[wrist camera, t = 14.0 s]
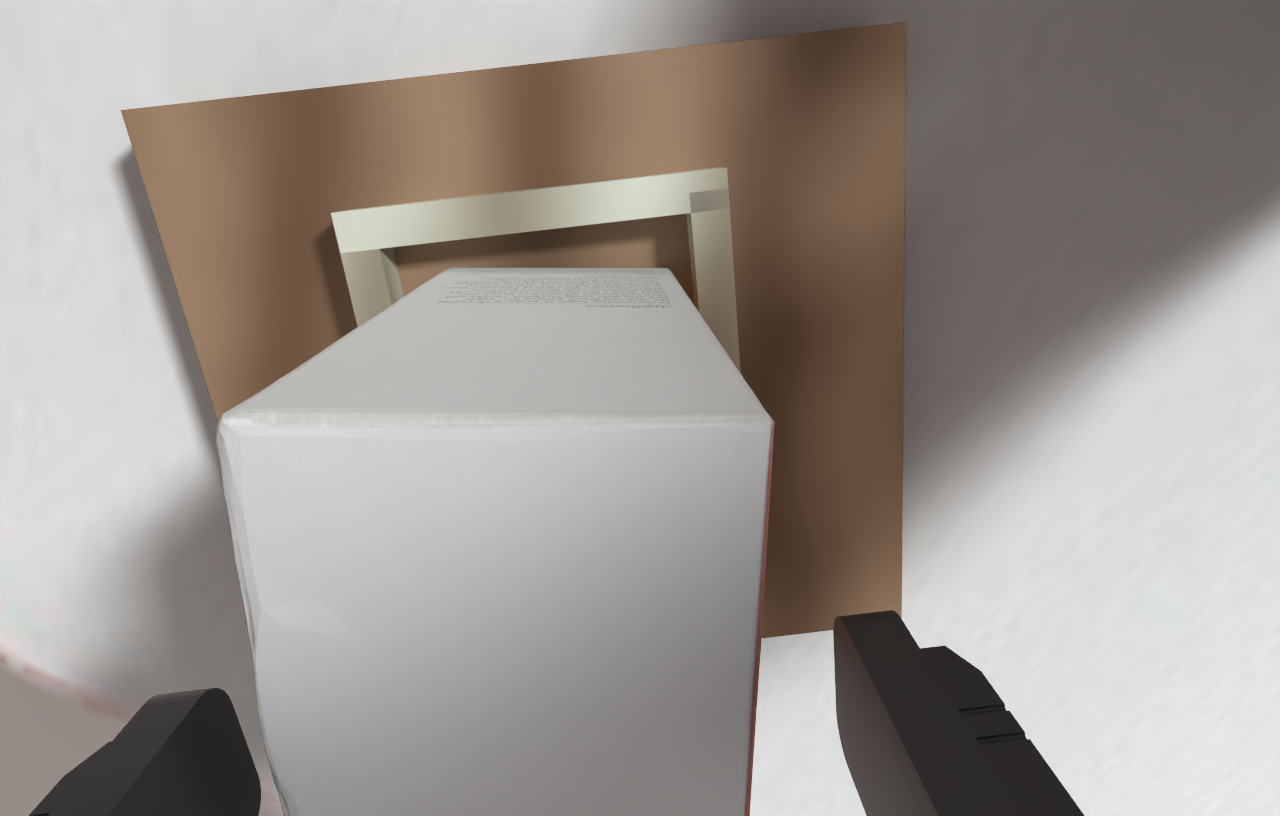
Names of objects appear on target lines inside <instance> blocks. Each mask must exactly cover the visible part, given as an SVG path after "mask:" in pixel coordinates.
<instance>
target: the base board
mask: <svg viewBox="0 0 1280 816" xmlns="http://www.w3.org/2000/svg"><path fill="white" fill-rule="evenodd" d="M905 110H906V22H902V23H893V24H884V25H875V26H866V27H857V28H848V29H839V30H830V31H822V32H813V33H804V34H795V35H786V36H777V37H768V38H759V39H750V40H742V41H733V42H724V43H715V44H706V45H697V46H688V47H679V48H670V49H662V50H653V51H644V52H635V53H626V54H617V55H608V56H599V57H590V58H582V59H573V60H564V61H555V62H546V63H537V64H528V65H519V66H511V67H502V68H493V69H484V70H475V71H466V72H457V73H448V74H439V75H431V76H422V77H413V78H404V79H395V80H386V81H377V82H368V83H359V84H351V85H342V86H333V87H324V88H315V89H306V90H297V91H288V92H279V93H271V94H262V95H253V96H244V97H235V98H226V99H217V100H208V101H199V102H191V103H182V104H173V105H164V106H155V107H146V108H137V109H128V110H121V112H122V115H123V119H124V122H125V125H126V128H127V131H128V135H129V138H130V141H131V144H132V147H133V151H134V154H135V157H136V160H137V164H138V167H139V170H140V173H141V176H142V180H143V183H144V186H145V189H146V192H147V196H148V199H149V202H150V205H151V208H152V212H153V215H154V218H155V221H156V225H157V228H158V231H159V234H160V237H161V241H162V244H163V247H164V250H165V253H166V257H167V260H168V263H169V266H170V269H171V273H172V276H173V279H174V282H175V285H176V289H177V292H178V295H179V298H180V302H181V305H182V308H183V311H184V314H185V318H186V321H187V324H188V327H189V330H190V334H191V337H192V340H193V343H194V346H195V350H196V353H197V356H198V359H199V363H200V366H201V369H202V372H203V375H204V379H205V382H206V385H207V388H208V391H209V395H210V398H211V401H212V404H213V407H214V411H215V414H216V417H217V420H218V422H219V420H220V418H221V416H222V414H224V413H225V412H227V411H229V410H230V409H232V408H234V407H235V406H237V405H239V404H240V403H242V402H244V401H245V400H247V399H249V398H250V397H252V396H254V395H255V394H257V393H258V392H260V391H262V390H263V389H265V388H266V387H268V386H270V385H271V384H273V383H274V382H275V381H276V380H278V379H280V378H281V377H283V376H285V375H287V374H288V373H290V372H291V371H293V370H294V369H296V368H297V367H299V366H300V365H302V364H303V363H305V362H306V361H308V360H309V359H311V358H312V357H314V356H315V355H317V354H318V353H320V352H321V351H323V350H324V349H326V348H327V347H329V346H330V345H332V344H333V343H335V342H336V341H338V340H339V339H341V338H342V337H344V336H345V335H347V334H348V333H350V332H351V331H353V330H354V329H356V328H357V327H359V326H361V325H362V324H364V323H365V322H366V321H368V320H370V319H372V318H373V317H375V316H376V315H378V314H379V313H381V312H383V311H384V310H386V309H387V308H388V307H390V306H391V305H392V304H394V303H395V302H397V301H398V300H399V299H401V298H402V297H404V296H406V295H407V294H409V293H410V292H412V291H413V290H414V289H416V288H418V287H419V286H421V285H422V284H424V283H426V282H427V281H429V280H430V279H432V278H433V277H435V276H436V275H438V274H440V273H441V272H443V271H445V270H446V269H449V268H668V269H669V270H670V271H671V272H672V273H673V275H674V277H675V278H676V279H677V281H678V283H679V284H680V285H681V287H682V288H683V290H684V291H685V293H686V294H687V296H688V297H689V299H690V300H691V301H692V303H693V305H694V306H695V307H696V309H697V310H698V312H699V313H700V315H701V316H702V318H703V320H704V321H705V322H706V324H707V325H708V326H709V328H710V329H711V331H712V333H713V334H714V335H715V337H716V338H717V340H718V341H719V343H720V344H721V346H722V347H723V348H724V350H725V351H726V353H727V354H728V356H729V357H730V359H731V360H732V362H733V363H734V365H735V366H736V368H737V369H738V370H739V372H740V373H741V375H742V376H743V378H744V380H745V381H746V382H747V384H748V385H749V387H750V388H751V389H752V391H753V392H754V394H755V395H756V396H757V398H758V400H759V401H760V403H761V404H762V406H763V408H764V409H765V411H766V412H767V413H768V414H769V416H770V417H771V418H772V419H773V421H774V422H775V424H774V435H773V455H772V470H771V486H770V502H769V518H768V533H767V549H766V566H765V583H764V596H763V618H762V634H761V638H768V637H776V636H785V635H793V634H801V633H810V632H818V631H826V630H834V620H835V618H836V617H838V616H847V615H855V614H864V613H872V612H881V611H889V610H894V611H895V612H896V613H897V614H898V615H899V616H900V618H901V605H902V481H903V357H904V233H905Z"/></svg>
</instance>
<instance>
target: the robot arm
mask: <svg viewBox="0 0 1280 816" xmlns="http://www.w3.org/2000/svg"><path fill="white" fill-rule="evenodd" d="M834 659H835V687H836V712H837V722H838V729H839V735H840V740H841V744H842V748H843V752H844V756H845V759H846V762H847V765H848V768H849V770H850V773H851V776H852V778H853V781H854V783H855V786H856V789H857V791H858V794H859V796H860V799H861V802H862V804H863V807H864V810H865V812H866V815H867V816H1084V815H1083V813H1082V812H1081V810H1080V809H1079V808H1078V806H1077V805H1076V803H1075V802H1074V801H1073V799H1072V798H1071V796H1070V795H1069V794H1068V792H1067V791H1066V789H1065V788H1064V787H1063V785H1062V784H1061V782H1060V781H1059V780H1058V778H1057V777H1056V775H1055V774H1054V773H1053V771H1052V770H1051V768H1050V767H1049V766H1048V764H1047V763H1046V761H1045V760H1044V759H1043V757H1042V756H1041V754H1040V753H1039V752H1038V750H1037V749H1036V747H1035V746H1034V745H1033V743H1032V742H1031V740H1030V739H1029V740H1027V739H1026V737H1025V732H1024V731H1023V729H1022V728H1021V726H1020V725H1019V724H1018V722H1017V721H1016V719H1015V718H1014V717H1013V715H1012V714H1011V712H1010V711H1006V709H1005V705H1004V703H1003V701H1002V700H1001V698H1000V697H999V696H998V694H997V693H996V691H995V690H994V689H993V687H992V686H991V684H990V683H989V682H988V680H987V679H986V677H985V676H984V675H983V673H982V672H981V671H980V670H979V669H977V668H976V667H974V666H973V665H971V664H970V663H969V662H967V661H966V660H964V659H963V658H962V657H960V656H959V655H957V654H956V653H954V652H953V651H952V650H950V649H949V648H947V647H946V646H939V647H930V648H922V649H920V648H919V647H918V645H917V643H916V642H915V640H914V639H913V637H912V635H911V634H910V632H909V630H908V629H907V627H906V626H905V624H904V622H903V621H902V619H901V618H900V616H899V615H898V614H897V613H896V612H895V611H894V610H889V611H881V612H872V613H864V614H855V615H847V616H838V617H836V618H835V620H834ZM260 802H261V787H260V780H259V777H258V774H257V771H256V768H255V765H254V762H253V760H252V757H251V754H250V751H249V749H248V746H247V743H246V740H245V738H244V735H243V732H242V729H241V727H240V724H239V721H238V718H237V716H236V713H235V710H234V707H233V705H232V702H231V700H230V698H229V696H228V695H227V693H226V692H224V691H223V690H221V689H219V688H212V689H203V690H195V691H186V692H178V693H169V694H161V695H157V696H154V697H152V698H151V699H149V700H148V701H147V702H146V703H145V704H144V705H143V706H142V707H141V709H140V710H139V711H138V712H137V713H136V714H135V716H134V717H133V718H132V719H131V720H130V721H129V722H128V724H127V725H126V726H125V727H124V728H123V729H122V731H121V732H120V733H119V734H118V735H117V736H116V738H115V739H114V740H113V741H112V742H108V743H107V744H106V745H105V746H103V747H102V748H101V749H99V750H98V751H97V752H95V753H94V754H93V755H91V756H90V757H89V758H87V759H86V760H85V761H83V762H82V763H81V764H79V765H78V766H77V767H76V768H74V769H73V770H72V771H70V772H69V773H68V774H66V775H65V776H64V777H63V778H62V779H61V780H60V781H59V782H58V783H57V785H56V786H55V787H54V788H53V789H52V790H51V791H50V792H49V794H48V795H47V796H46V797H45V798H44V799H43V800H42V801H41V802H40V804H39V805H38V806H37V807H36V808H35V809H34V810H33V812H32V813H31V814H30V815H29V816H258V815H259V809H260Z"/></svg>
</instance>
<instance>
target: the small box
mask: <svg viewBox="0 0 1280 816" xmlns="http://www.w3.org/2000/svg"><path fill="white" fill-rule="evenodd" d="M774 424H775V422H774V421H773V419H772V418H771V417H770V416H769V414H768V413H767V412H766V411H765V409H764V408H763V406H762V404H761V403H760V401H759V400H758V398H757V396H756V395H755V394H754V392H753V391H752V389H751V388H750V387H749V385H748V384H747V382H746V381H745V380H744V378H743V376H742V375H741V373H740V372H739V370H738V369H737V368H736V366H735V365H734V363H733V362H732V360H731V359H730V357H729V356H728V354H727V353H726V351H725V350H724V348H723V347H722V346H721V344H720V343H719V341H718V340H717V338H716V337H715V335H714V334H713V333H712V331H711V329H710V328H709V326H708V325H707V324H706V322H705V321H704V320H703V318H702V316H701V315H700V313H699V312H698V310H697V309H696V307H695V306H694V305H693V303H692V301H691V300H690V299H689V297H688V296H687V294H686V293H685V291H684V290H683V288H682V287H681V285H680V284H679V283H678V281H677V279H676V278H675V277H674V275H673V273H672V272H671V271H670V270H669V269H668V268H449V269H446V270H445V271H443V272H441V273H440V274H438V275H436V276H435V277H433V278H432V279H430V280H429V281H427V282H426V283H424V284H422V285H421V286H419V287H418V288H416V289H414V290H413V291H412V292H410V293H409V294H407V295H406V296H404V297H402V298H401V299H399V300H398V301H397V302H395V303H394V304H392V305H391V306H390V307H388V308H387V309H386V310H384V311H383V312H381V313H379V314H378V315H376V316H375V317H373V318H372V319H370V320H368V321H366V322H365V323H364V324H362V325H361V326H359V327H357V328H356V329H354V330H353V331H351V332H350V333H348V334H347V335H345V336H344V337H342V338H341V339H339V340H338V341H336V342H335V343H333V344H332V345H330V346H329V347H327V348H326V349H324V350H323V351H321V352H320V353H318V354H317V355H315V356H314V357H312V358H311V359H309V360H308V361H306V362H305V363H303V364H302V365H300V366H299V367H297V368H296V369H294V370H293V371H291V372H290V373H288V374H287V375H285V376H283V377H281V378H280V379H278V380H276V381H275V382H274V383H273V384H271V385H270V386H268V387H266V388H265V389H263V390H262V391H260V392H258V393H257V394H255V395H254V396H252V397H250V398H249V399H247V400H245V401H244V402H242V403H240V404H239V405H237V406H235V407H234V408H232V409H230V410H229V411H227V412H225V413H224V414H222V416H221V418H220V420H219V422H218V424H217V426H216V445H217V450H218V455H219V461H220V468H221V476H222V483H223V490H224V495H225V501H226V506H227V511H228V517H229V522H230V529H231V535H232V542H233V548H234V555H235V561H236V567H237V572H238V577H239V582H240V587H241V593H242V598H243V604H244V609H245V616H246V622H247V628H248V634H249V640H250V646H251V651H252V661H253V670H254V680H255V689H256V699H257V709H258V714H259V719H260V725H261V730H262V735H263V740H264V745H265V749H266V753H267V756H268V760H269V764H270V767H271V771H272V775H273V780H274V783H275V785H276V788H277V791H278V793H279V797H280V801H281V805H282V809H283V813H284V816H749V814H750V799H751V783H752V767H753V752H754V737H755V722H756V706H757V693H758V678H759V663H760V650H761V634H762V618H763V596H764V583H765V566H766V549H767V533H768V518H769V502H770V486H771V470H772V455H773V435H774Z"/></svg>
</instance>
